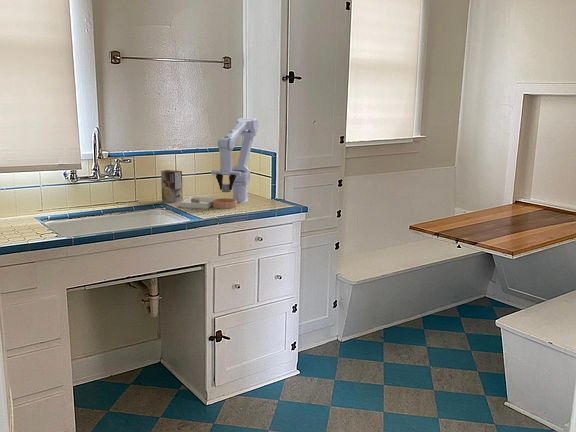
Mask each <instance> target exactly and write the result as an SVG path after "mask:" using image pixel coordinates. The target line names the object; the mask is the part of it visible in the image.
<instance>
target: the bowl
mask: <svg viewBox="0 0 576 432" xmlns="http://www.w3.org/2000/svg"><path fill="white" fill-rule="evenodd" d="M211 207H212V208H213V209H214V208H215V209H221V210H223V209H224V210H225V209H226V210H228V209H230V210H231V209H235V208H237V207H238V202H237V200H236V199H233V198H229V197H227V198H225V197H224V198H219V197H218V199H214V200H212V206H211Z"/></svg>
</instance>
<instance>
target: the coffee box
mask: <svg viewBox="0 0 576 432" xmlns="http://www.w3.org/2000/svg"><path fill="white" fill-rule="evenodd" d="M160 174H161V175H160V176H161V177H160V181H161V182H160V183H161V184H160V185H161V202H167V203H180V202H182V201H184V200H183V199H184V198H183V172H182V170H173V169H165V170H162V171H161V172H160Z"/></svg>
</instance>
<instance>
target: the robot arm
mask: <svg viewBox="0 0 576 432" xmlns="http://www.w3.org/2000/svg"><path fill="white" fill-rule="evenodd" d="M258 130H259V123H258V119H257V118H254V117H253V118H252V117H251V118H250V117H249V118H248V117H247V118H246V117H239V118H237V121H236V125H235V126H234V128H233V129H230V130H229V131H228V132H227V133H226V134H225V135H224V136H223V137H221V138H219V139H218V142H217V148H218V153H219V161H220V162H219V170H211V171H210V172H211V173H210V174H211V176H214V175H215V179H216V180H217V183H218V185H219V190H220V191H222V184H224V183H223V179H224V176H228V180H229V184H230V187H229V189H230V191H232V199H236V200H237V203H245V204H246V203H247V202H248V201H249V200H250V199H249V198H248V186H247V185H249V183H250V181H251V171H250V169H249V168H248V164H249V159H250V155H251V151H252V146H253V141H254V137H256V136H257V134H258V133H257V132H258ZM240 136H242V137H243V139H242V143H241V147H240V151H239V155H238V159H237V164H236V165H235V166H233V157H232V156H233V149H234V148H235V145H236V142H237V141H238V140H239V138H240Z"/></svg>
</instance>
